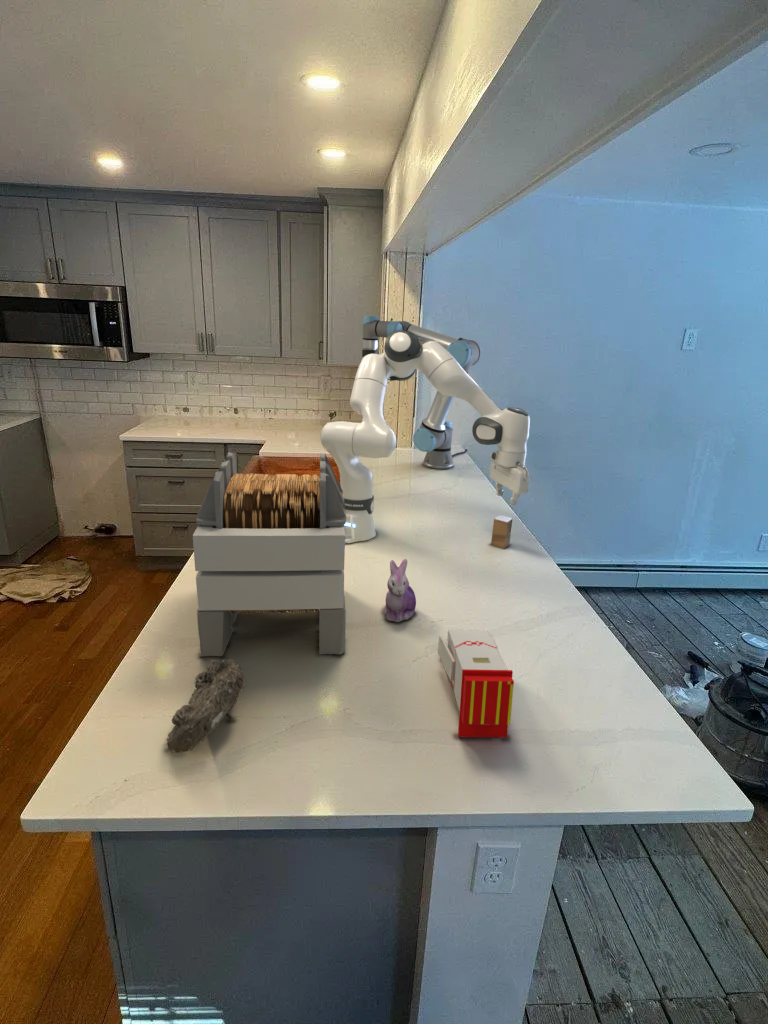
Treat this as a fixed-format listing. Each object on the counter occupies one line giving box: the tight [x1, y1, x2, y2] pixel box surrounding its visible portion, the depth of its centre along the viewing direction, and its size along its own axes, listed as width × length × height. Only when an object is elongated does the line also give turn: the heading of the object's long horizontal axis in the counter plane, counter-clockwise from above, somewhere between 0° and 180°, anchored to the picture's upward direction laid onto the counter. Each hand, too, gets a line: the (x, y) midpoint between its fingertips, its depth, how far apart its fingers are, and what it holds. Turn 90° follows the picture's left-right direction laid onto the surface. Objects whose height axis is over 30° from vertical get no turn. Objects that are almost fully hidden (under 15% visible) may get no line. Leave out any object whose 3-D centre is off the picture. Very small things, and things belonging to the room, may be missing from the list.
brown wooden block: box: [490, 515, 514, 550], centre depth 193 cm, size 5×5×10 cm
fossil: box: [166, 658, 245, 754], centre depth 106 cm, size 22×10×15 cm
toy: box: [437, 628, 515, 738], centre depth 117 cm, size 12×13×30 cm
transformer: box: [192, 452, 347, 658], centre depth 136 cm, size 34×33×41 cm
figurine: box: [384, 558, 417, 623], centre depth 145 cm, size 9×10×15 cm
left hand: (506, 499), depth 187 cm, fingers open, 8 cm apart
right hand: (368, 393), depth 284 cm, fingers open, 13 cm apart
